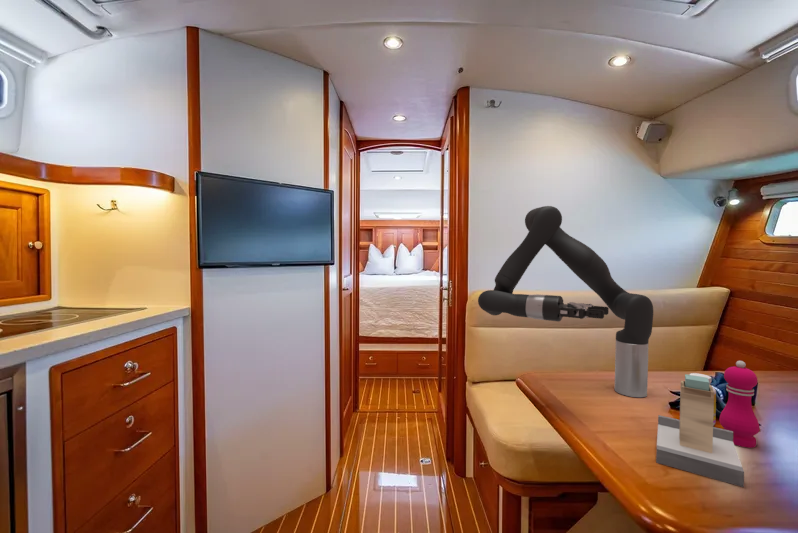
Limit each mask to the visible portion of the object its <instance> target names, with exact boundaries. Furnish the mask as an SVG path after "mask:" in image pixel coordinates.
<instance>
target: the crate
mask: <svg viewBox="0 0 798 533" xmlns="http://www.w3.org/2000/svg"><path fill="white" fill-rule="evenodd" d="M712 387H713V385H711V384H710V385H709V391H706V390H700V389H694V388H688V387H685V380H680V396H679V401H680V402H679V420H680V427H679V439H680V445H681V446H685V447H689V448H693V449H697V450H701V451H705V452H709V453H712V447H713V427H714V426H713V413H714V391H713V388H712Z"/></svg>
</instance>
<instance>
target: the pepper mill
mask: <svg viewBox="0 0 798 533" xmlns="http://www.w3.org/2000/svg"><path fill="white" fill-rule="evenodd" d="M746 364H747V363H746V362H744V361H743V360H737V361H736V362H735V365H736V366H730V367H727V368H726V369H725V370H724V372H723V378H724V380H725V381H726V383H727V384H726V389H725V390H726V391H727V392H728V398H727V402H726V404H725V406H724V408H723V410H721V412H720V414H719V419H718V420H719V424H720V425H721V427H722V429H725V430H729V431H733V443H734V445H735V446H738V447H742V448H750V449H753V448H756V446H757V438H756V437H755V436H756V435H757V434H758V433H760V430H761V429H760V423H759V420H758V418H757V416H756V414H755V412H754V409H753V404H752V397H753V396H754V395H755V389H754V387H756V386H757V384H758V381H759V380H758V377H757V374H756V373H755V372H754V371H753V370H751V369H750V368H747V367H746Z"/></svg>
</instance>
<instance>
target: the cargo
mask: <svg viewBox="0 0 798 533" xmlns="http://www.w3.org/2000/svg"><path fill="white" fill-rule="evenodd" d="M684 381H685V387H688V388H694V389H700V390H706V391H709V380H708V378H706V377H700V376H693V375H689V374H688V373H687V374H684Z"/></svg>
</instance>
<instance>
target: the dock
mask: <svg viewBox="0 0 798 533" xmlns="http://www.w3.org/2000/svg"><path fill="white" fill-rule="evenodd" d="M679 427H680V418H679V419H677V418H673V417H669V416H665V415H659V414H658V416H657V433H656V434H657V436H656V453H655V454H656V456H655V458H656V459H655V462H656V464H660V465H663V466H667V467H671V468H674V469H678V470H682V471H685V472H688V473H693V474H695V475H698V476H699V475H700V476H702V477H706V478H708V479H713V480H716V481H720V482H723V483H728V484H731V485H733V486H738V487H742V488H744V487H745V486H744V485H745V470H744V467H743V465H742V463H741V459H740V458H739V454H738V451H737V448H736V447H735V446H736V445H734V443H733V431H729V430H725V429H724V428H719V427H715V426H713V447H712V453H709V452H705V451H701V450H697V449H693V448H689V447H685V446H681V445H680V439H679Z"/></svg>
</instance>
